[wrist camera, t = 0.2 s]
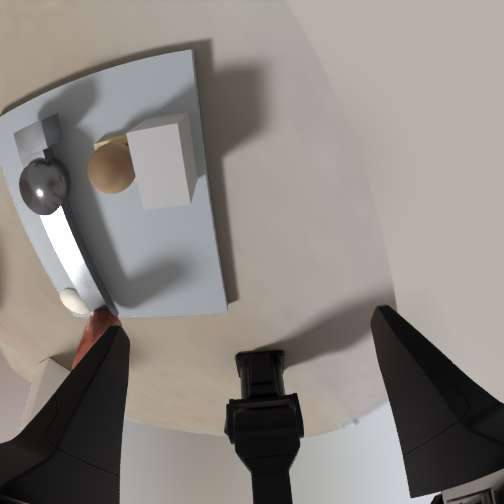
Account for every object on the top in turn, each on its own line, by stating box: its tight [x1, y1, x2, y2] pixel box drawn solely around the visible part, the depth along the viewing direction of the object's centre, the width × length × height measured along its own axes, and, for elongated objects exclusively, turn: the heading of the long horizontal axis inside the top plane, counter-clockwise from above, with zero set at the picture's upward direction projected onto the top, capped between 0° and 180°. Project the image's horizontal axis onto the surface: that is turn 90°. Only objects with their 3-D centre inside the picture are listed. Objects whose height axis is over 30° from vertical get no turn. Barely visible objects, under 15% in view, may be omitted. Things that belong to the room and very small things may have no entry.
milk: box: [19, 358, 70, 433], centre depth 31 cm, size 6×6×22 cm
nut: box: [88, 142, 136, 194], centre depth 16 cm, size 4×4×4 cm
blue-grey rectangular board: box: [0, 49, 228, 317], centre depth 20 cm, size 24×19×5 cm
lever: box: [13, 113, 122, 370], centre depth 18 cm, size 5×22×8 cm, turn 3°
